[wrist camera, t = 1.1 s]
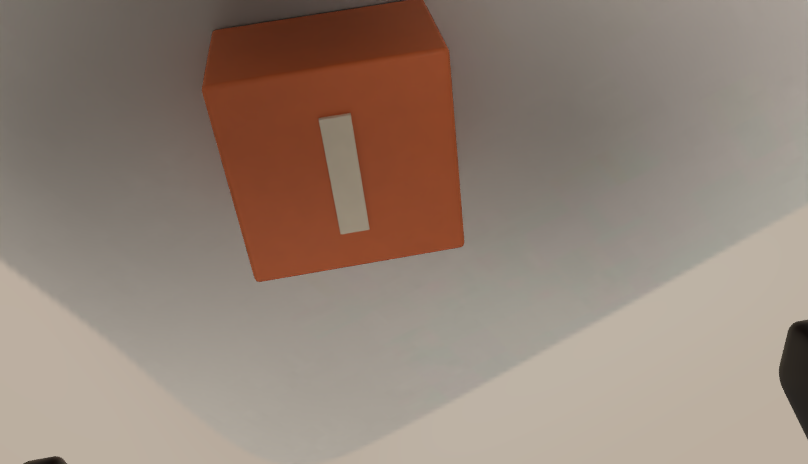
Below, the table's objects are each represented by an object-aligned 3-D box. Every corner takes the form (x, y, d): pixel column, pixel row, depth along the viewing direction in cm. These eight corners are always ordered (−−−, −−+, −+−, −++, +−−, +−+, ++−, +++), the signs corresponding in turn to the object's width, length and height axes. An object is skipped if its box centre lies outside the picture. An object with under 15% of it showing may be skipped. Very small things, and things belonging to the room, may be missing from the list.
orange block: (440, 178, 19) (466, 250, 16) (257, 208, 19) (255, 287, 16) (422, -4, 16) (450, 49, 14) (210, 29, 16) (199, 89, 14)
